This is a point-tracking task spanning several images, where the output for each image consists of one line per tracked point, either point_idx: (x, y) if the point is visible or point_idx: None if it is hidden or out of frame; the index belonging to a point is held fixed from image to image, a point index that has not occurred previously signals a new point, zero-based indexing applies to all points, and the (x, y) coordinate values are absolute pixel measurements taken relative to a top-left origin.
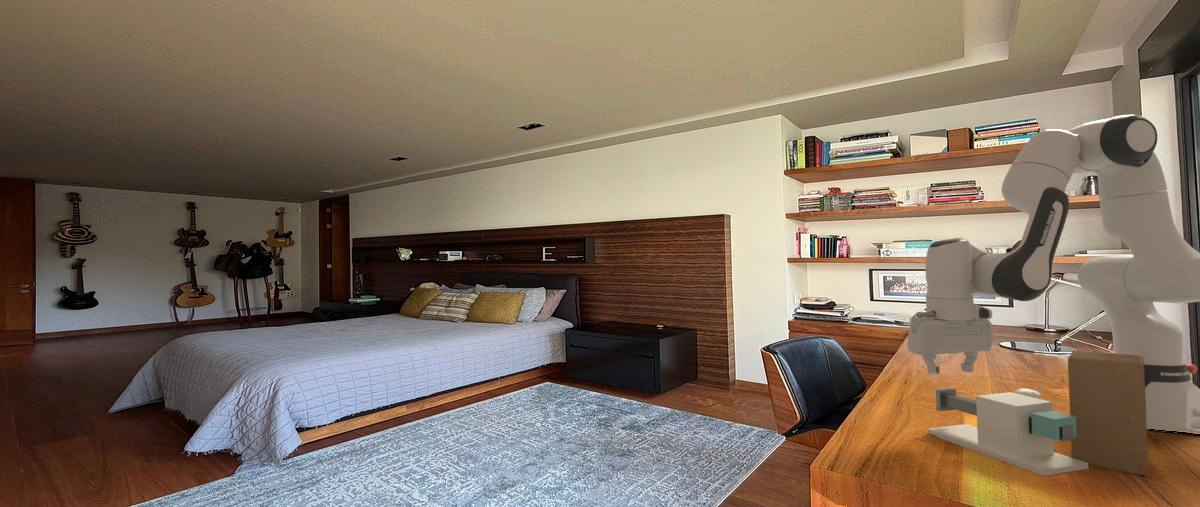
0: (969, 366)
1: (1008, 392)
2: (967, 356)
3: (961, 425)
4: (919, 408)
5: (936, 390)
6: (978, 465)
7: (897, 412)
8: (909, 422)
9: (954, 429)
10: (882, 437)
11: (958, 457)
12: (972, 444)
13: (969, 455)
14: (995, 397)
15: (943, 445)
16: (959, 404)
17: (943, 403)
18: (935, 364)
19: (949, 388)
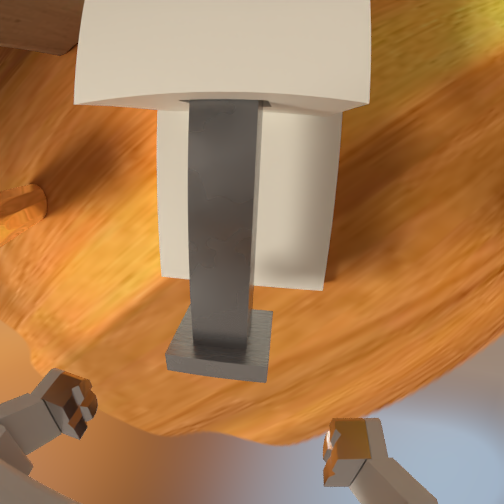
0: (60, 395)
1: (88, 99)
2: (23, 448)
3: (187, 273)
4: (152, 407)
5: (266, 377)
6: (431, 51)
7: (228, 413)
8: (273, 363)
9: None
10: (452, 302)
11: (429, 108)
12: (335, 128)
13: (388, 102)
14: (288, 23)
15: (380, 191)
16: (252, 263)
17: (252, 326)
18: (381, 472)
19: (186, 370)
